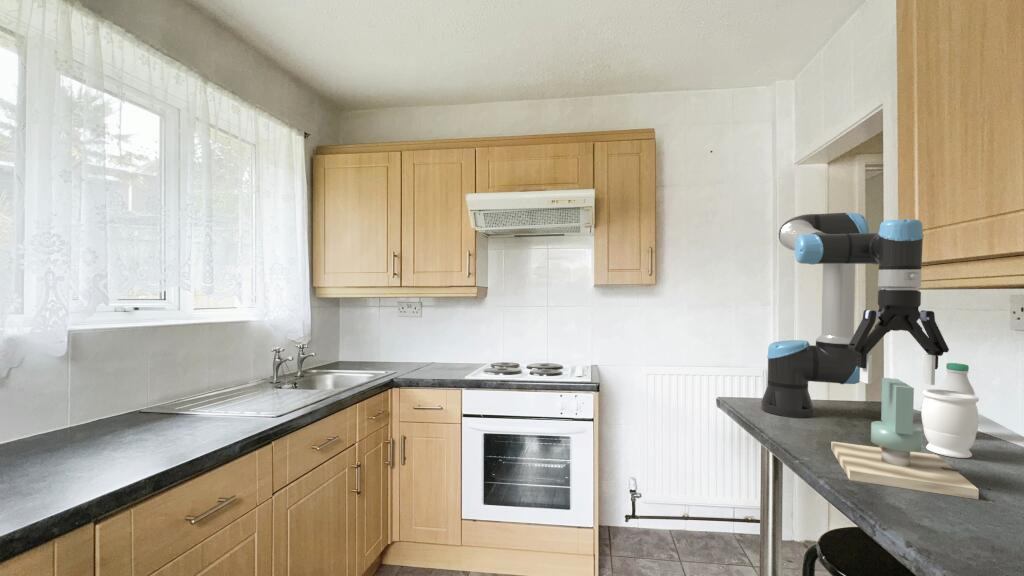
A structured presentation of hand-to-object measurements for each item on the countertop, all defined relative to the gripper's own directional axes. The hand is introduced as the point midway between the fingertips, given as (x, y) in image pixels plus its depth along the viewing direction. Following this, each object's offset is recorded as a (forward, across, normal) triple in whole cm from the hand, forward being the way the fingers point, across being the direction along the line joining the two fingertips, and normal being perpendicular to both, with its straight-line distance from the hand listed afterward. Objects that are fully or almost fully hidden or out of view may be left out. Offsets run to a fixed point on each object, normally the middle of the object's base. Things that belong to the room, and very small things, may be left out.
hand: (896, 383), depth 108 cm
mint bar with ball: (+14, 0, 0) cm, 14 cm away
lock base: (+20, 0, -1) cm, 20 cm away
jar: (+20, +22, +13) cm, 33 cm away
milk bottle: (+21, +37, +28) cm, 51 cm away
